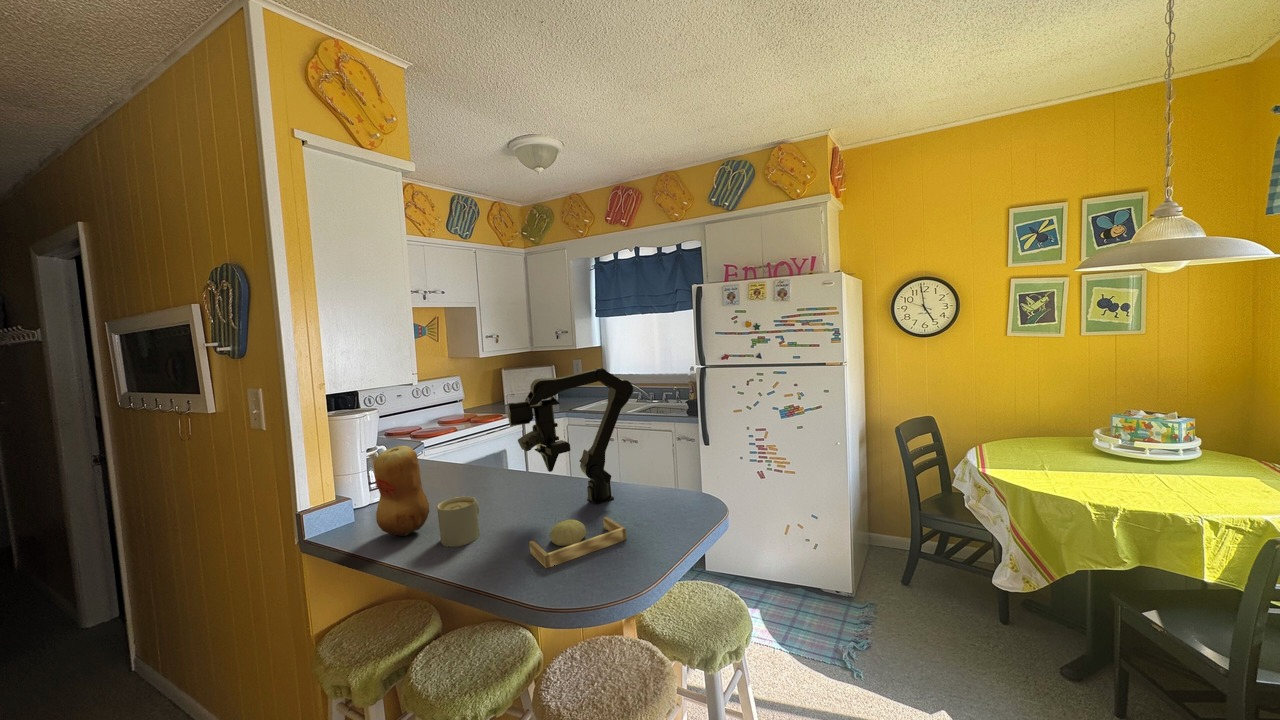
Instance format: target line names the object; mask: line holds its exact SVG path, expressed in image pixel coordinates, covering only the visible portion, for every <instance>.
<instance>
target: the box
mask: <svg viewBox="0 0 1280 720" xmlns="http://www.w3.org/2000/svg"><path fill="white" fill-rule="evenodd" d="M602 521H603V529H604V530H606V531H607V530H608V531H607V532H605V533H603V534H599V535H597V536H594V537H591V538H587V539H585V540H584V539H583V540H581V541H580V542H578V543H576V544H573V545H569V546H568V545H566V546H563V547H561V548H559V549H556V550H553V551H551V552H546V551H545V550H544V549H543V548H542V547H541V545H539V544H537V542H536V541H535V540H531V541H529V550H530V552H529V553H530V555H531V556H533V558H534V559H536V560H537V561H538V562H539V563H540V564H541V565H542V566H543V567H544V568H545V569H546V568H547V569H549V568H552V567H555V566H557V565H560V564H563V563H566V562H568V561H571V560H574V559H576V558H579V557H582V556H585V555H588V554H591V553H594V552H596V551H598V550H602V549H603V548H607V547H609V546H613V545H616V544H618V543H621V542H624V541H626V540H627V528H626V527H624V526H622V524H619V523H618V522H616V521H614V520H612V519H611V518H610V517H608V516H604V517H603V518H602ZM554 565H555V566H554Z"/></svg>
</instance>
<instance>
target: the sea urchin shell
mask: <svg viewBox="0 0 1280 720" xmlns="http://www.w3.org/2000/svg"><path fill="white" fill-rule="evenodd" d="M586 533H587V529H586V526H585V523H582V522H581V521H579V520H577V519H566V520H562V521H560V522H558V523H556V524H554V525H553V526H552V528H551V530H550V532H549V538H550V541H551V543H553V544H554V545H556V546H559V547H560V546H561V547H567V546H570V545H573V544H576V543H579V542H582V541H583V540H584V538H585V536H586Z"/></svg>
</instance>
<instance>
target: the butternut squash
mask: <svg viewBox="0 0 1280 720" xmlns="http://www.w3.org/2000/svg"><path fill="white" fill-rule="evenodd" d="M373 471H374V478H375V484H376V486H377V488H378V492H379V494H380V495H379V500H378V504H377V507H376V512H375V514H376V515H375V516H376V517H375V518H376V519H375V520H376V524H377V525H378V527H379V529H380V530H381V531H382V532H384V533H386V534H387V533H388V534H391V535H394V536H397V537H398V536H399V537H404V536H405V537H406V536H408V535H409V534H411V533H412V532H414V531H415V532H416V531H419V530H421V528H422V527H423V526H424V525H425V523H426V521H427V520H428V517H429V514H430V503H429V501H428V498H427V495H426V494H425V492H424V489H423V486H422V485H423V484H422V478H421V469H420V464H419V460H418V453H417V452H416V451H415V450H414V448H412V447H410V446H407V445H398V446H395V447H391V448H389V449H386V450H384V451H382V452H381V453H379V454H378V455H377V456H376V457H375V460H374V462H373Z"/></svg>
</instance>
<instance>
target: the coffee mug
mask: <svg viewBox="0 0 1280 720" xmlns="http://www.w3.org/2000/svg"><path fill="white" fill-rule="evenodd" d="M436 508H437V509H436V510H437V519H438V526H439V534H440V535H439V536H440V543H441V545H442V546H444V547H448V546H449V547H451V548H455V547H460V546H464V545H468V544H470V542H471V543H473V542H475V541H476V540H478V539H479V538H480V536H479V535H480V534H481V533H480V525H479V513H480V511H479V510H480V507H479V503H478V501H477V499H476V498H475V497H474V496H469V495H468V496H467V495H465V496H457V497H453V498H449V499H446V500H443V501H441V502H440V503H438V505H437V506H436ZM474 540H475V541H474ZM472 541H473V542H472ZM449 547H448V548H449Z"/></svg>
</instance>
